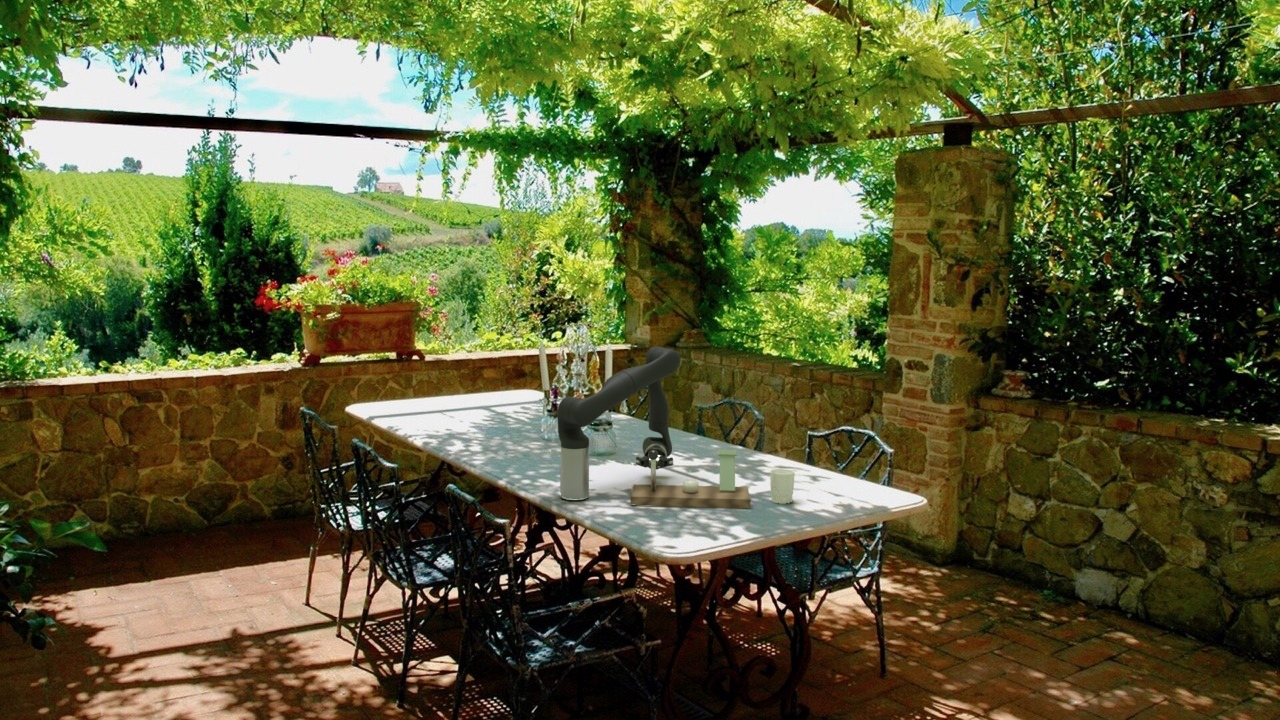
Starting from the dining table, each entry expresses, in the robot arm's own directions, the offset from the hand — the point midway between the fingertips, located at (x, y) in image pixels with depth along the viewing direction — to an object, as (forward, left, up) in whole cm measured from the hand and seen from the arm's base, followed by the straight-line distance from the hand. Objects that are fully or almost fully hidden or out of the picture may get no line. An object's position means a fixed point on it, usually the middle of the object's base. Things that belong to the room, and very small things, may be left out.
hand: (653, 466), depth 311 cm
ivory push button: (+5, +11, -9) cm, 15 cm away
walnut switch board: (+5, +11, -12) cm, 17 cm away
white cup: (+21, +37, -12) cm, 44 cm away
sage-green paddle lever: (+12, +21, -9) cm, 26 cm away
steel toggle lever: (-2, +2, -9) cm, 9 cm away
